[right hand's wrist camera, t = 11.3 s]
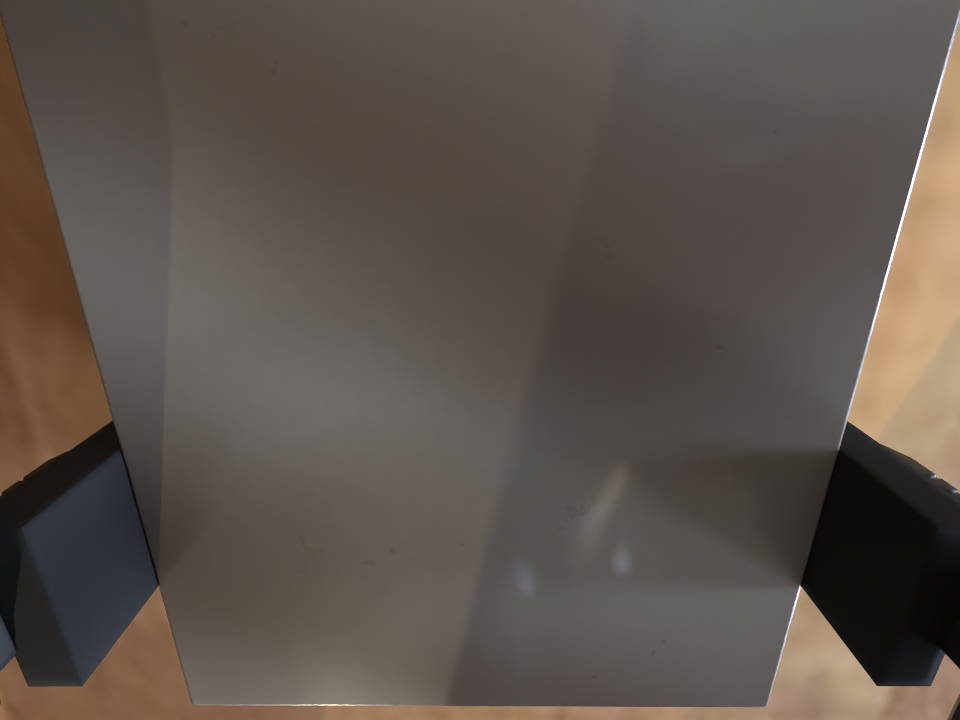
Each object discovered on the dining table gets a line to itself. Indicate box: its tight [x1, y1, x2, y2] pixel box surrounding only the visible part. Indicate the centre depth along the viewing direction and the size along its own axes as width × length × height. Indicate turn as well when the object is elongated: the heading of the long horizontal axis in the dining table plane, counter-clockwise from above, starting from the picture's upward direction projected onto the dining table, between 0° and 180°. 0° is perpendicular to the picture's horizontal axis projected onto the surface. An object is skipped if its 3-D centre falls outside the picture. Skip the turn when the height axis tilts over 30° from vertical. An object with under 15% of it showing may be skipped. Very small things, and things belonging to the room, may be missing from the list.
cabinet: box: [0, 0, 960, 707], centre depth 11 cm, size 21×11×9 cm, turn 0°
